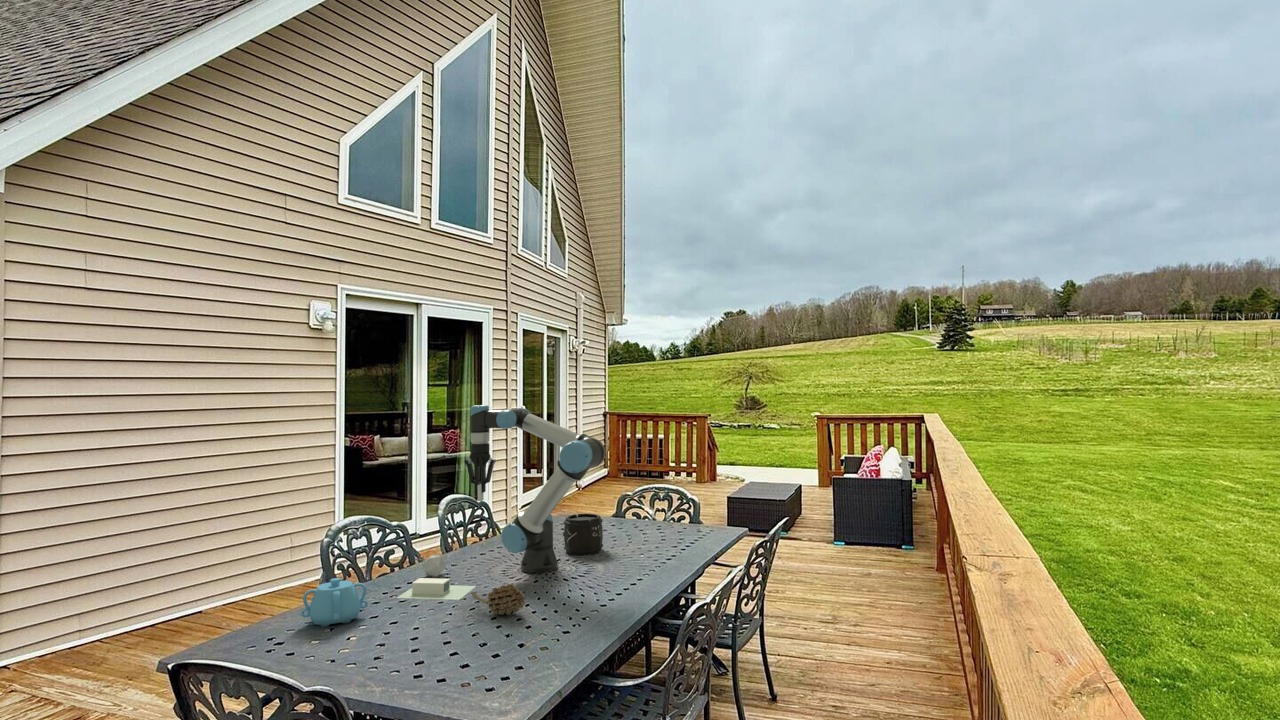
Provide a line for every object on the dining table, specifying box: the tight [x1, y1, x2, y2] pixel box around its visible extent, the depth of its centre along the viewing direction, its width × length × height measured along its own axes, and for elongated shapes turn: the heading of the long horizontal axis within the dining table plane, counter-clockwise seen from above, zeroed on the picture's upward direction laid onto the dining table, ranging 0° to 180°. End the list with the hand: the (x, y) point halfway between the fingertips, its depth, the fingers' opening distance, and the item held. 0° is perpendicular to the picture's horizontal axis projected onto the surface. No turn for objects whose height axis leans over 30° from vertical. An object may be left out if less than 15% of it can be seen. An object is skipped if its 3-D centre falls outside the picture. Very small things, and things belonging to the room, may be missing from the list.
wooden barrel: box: [562, 513, 604, 557], centre depth 303 cm, size 18×18×16 cm
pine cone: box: [471, 583, 526, 616], centre depth 222 cm, size 22×10×10 cm, turn 68°
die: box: [421, 554, 447, 578], centre depth 268 cm, size 8×9×10 cm
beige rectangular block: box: [411, 577, 451, 595], centre depth 246 cm, size 4×6×12 cm
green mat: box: [395, 584, 477, 601], centre depth 246 cm, size 24×16×1 cm, turn 82°
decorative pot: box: [300, 577, 369, 628], centre depth 218 cm, size 16×16×14 cm
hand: (480, 500), depth 272 cm, fingers closed
